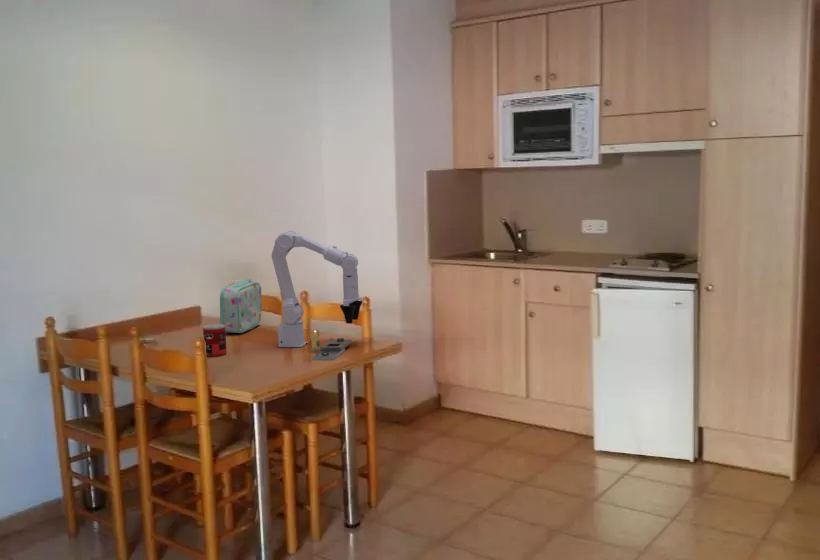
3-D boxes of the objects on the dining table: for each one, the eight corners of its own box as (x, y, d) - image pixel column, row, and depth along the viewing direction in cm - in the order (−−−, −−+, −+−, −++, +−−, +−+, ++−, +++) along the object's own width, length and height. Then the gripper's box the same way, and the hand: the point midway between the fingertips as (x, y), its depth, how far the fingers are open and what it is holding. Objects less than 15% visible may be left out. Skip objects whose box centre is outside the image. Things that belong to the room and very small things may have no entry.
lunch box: (243, 323, 366) (240, 276, 363) (265, 323, 364) (262, 276, 361) (218, 336, 340) (215, 285, 337) (241, 336, 338) (238, 285, 335)
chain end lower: (312, 359, 290) (311, 354, 289) (324, 350, 303) (324, 346, 303) (333, 360, 288) (333, 355, 288) (345, 351, 302) (344, 346, 301)
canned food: (203, 354, 306) (201, 325, 305) (224, 351, 309) (222, 323, 308) (206, 358, 299) (204, 328, 298) (228, 355, 302) (226, 326, 301)
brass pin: (310, 352, 302) (309, 331, 301) (313, 350, 305) (312, 329, 304) (318, 352, 301) (317, 331, 300) (321, 350, 304) (319, 329, 303)
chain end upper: (320, 350, 298) (319, 345, 298) (331, 342, 312) (331, 337, 312) (340, 350, 296) (340, 345, 296) (351, 342, 310) (351, 337, 310)
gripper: (355, 289, 302) (356, 325, 304) (366, 283, 316) (367, 318, 318) (337, 289, 304) (338, 324, 305) (348, 283, 318) (350, 317, 319)
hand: (352, 321), depth 312 cm, fingers open, 7 cm apart
